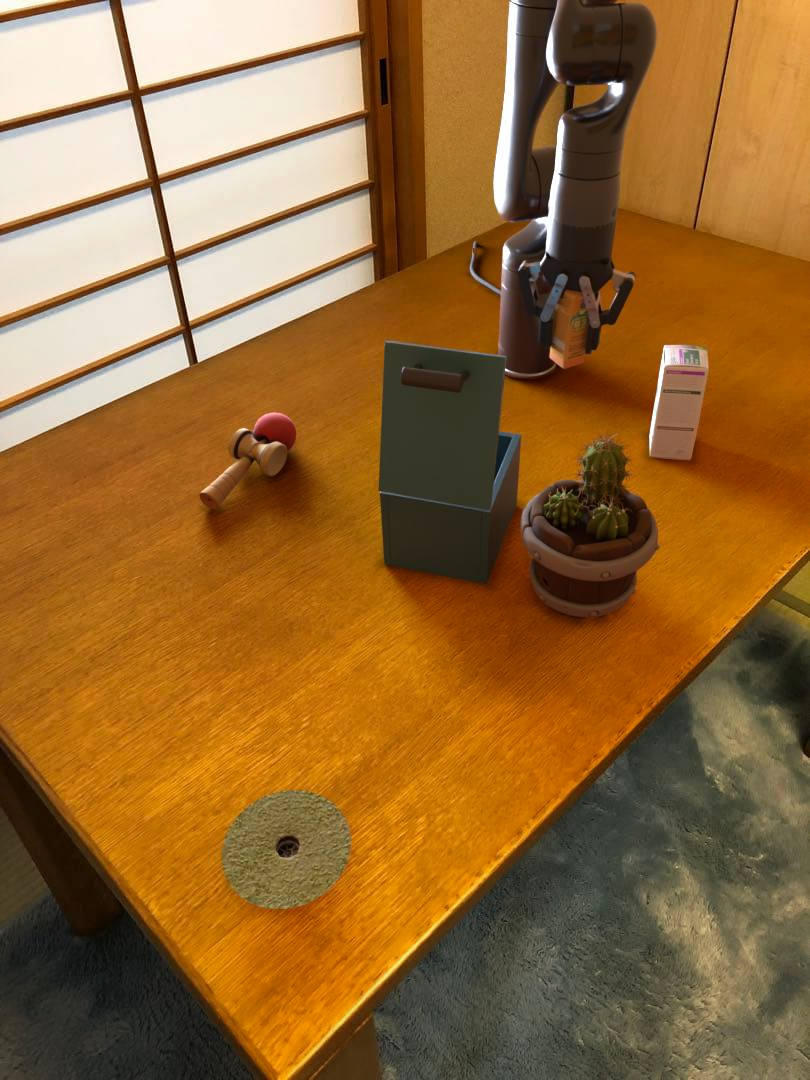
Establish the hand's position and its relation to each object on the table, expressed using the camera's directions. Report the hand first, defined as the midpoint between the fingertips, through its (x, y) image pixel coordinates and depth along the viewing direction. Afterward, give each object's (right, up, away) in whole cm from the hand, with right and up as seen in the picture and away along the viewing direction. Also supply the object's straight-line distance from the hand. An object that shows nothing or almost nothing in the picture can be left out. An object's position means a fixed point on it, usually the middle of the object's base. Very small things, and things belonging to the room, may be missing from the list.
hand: (568, 347), depth 109 cm
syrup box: (+17, -11, +14) cm, 24 cm away
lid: (-17, -12, -15) cm, 25 cm away
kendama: (-41, -15, +12) cm, 46 cm away
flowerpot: (0, -30, -7) cm, 31 cm away
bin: (-14, -23, +1) cm, 27 cm away
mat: (-30, -52, -31) cm, 68 cm away
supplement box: (0, -2, +1) cm, 2 cm away
